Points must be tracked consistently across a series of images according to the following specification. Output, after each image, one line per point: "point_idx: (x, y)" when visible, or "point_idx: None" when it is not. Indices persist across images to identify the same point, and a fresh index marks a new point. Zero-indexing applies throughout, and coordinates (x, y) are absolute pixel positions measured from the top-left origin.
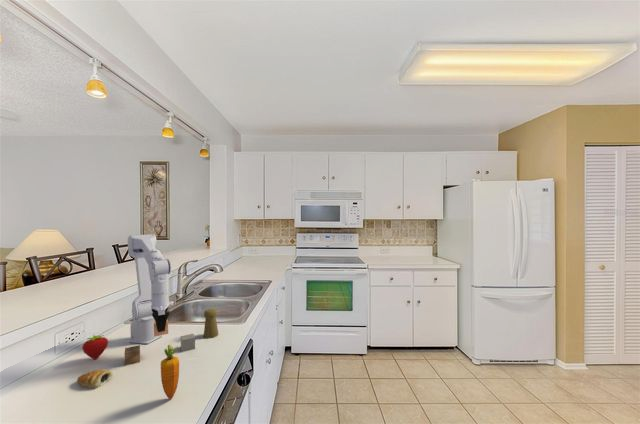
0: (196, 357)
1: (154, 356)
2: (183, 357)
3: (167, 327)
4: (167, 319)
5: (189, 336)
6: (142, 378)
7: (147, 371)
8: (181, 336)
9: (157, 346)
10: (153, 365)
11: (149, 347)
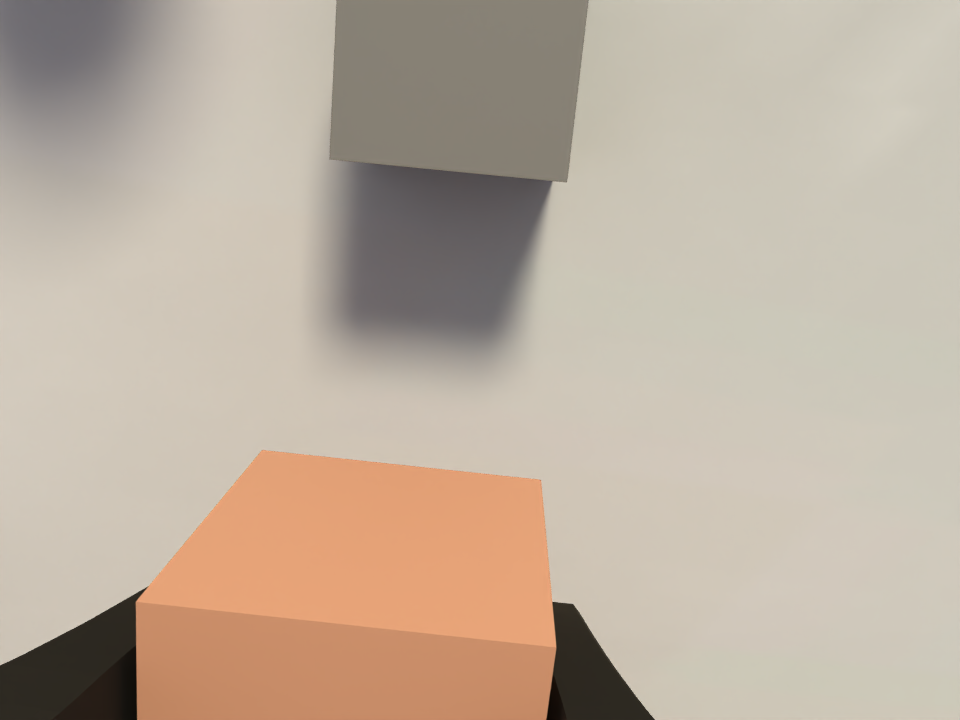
0: (904, 36)
1: None
2: (754, 201)
3: (543, 564)
4: (325, 624)
5: (459, 6)
6: (949, 690)
7: (816, 630)
8: (355, 148)
9: (112, 431)
10: (705, 557)
11: (85, 521)
